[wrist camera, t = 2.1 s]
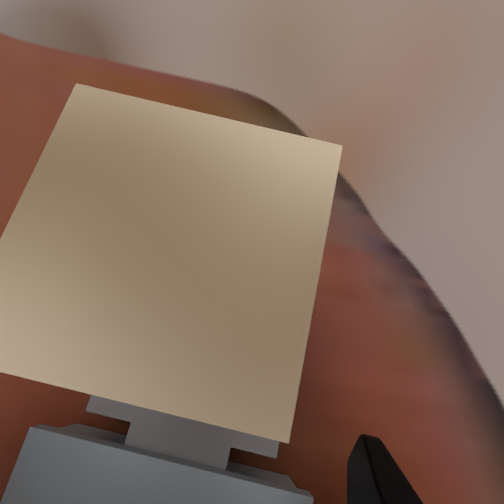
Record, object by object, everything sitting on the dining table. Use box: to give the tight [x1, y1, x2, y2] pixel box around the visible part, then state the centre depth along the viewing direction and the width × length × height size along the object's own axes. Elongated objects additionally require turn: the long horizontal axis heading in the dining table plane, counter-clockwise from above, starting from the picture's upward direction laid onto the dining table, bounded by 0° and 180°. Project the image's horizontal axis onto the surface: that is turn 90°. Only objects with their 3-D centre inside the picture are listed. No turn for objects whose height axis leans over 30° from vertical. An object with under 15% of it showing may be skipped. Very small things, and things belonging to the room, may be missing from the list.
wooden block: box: [0, 83, 342, 444], centre depth 13 cm, size 4×4×15 cm
